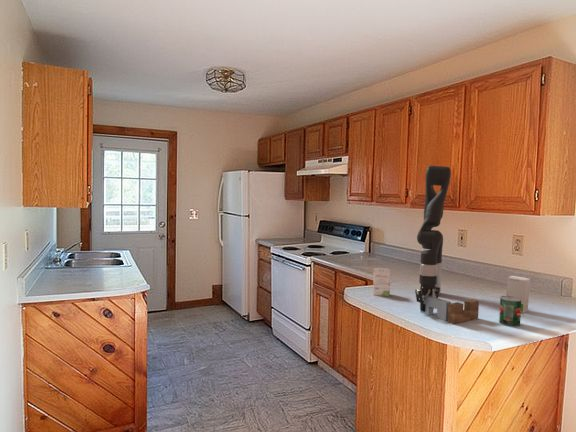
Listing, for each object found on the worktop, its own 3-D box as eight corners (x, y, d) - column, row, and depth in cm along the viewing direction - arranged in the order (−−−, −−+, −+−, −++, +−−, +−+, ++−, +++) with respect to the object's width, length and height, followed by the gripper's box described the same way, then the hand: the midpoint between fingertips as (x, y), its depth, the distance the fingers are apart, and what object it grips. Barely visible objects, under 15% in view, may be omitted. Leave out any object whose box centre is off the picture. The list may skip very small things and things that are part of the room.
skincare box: (504, 309, 191) (506, 277, 190) (509, 306, 195) (511, 275, 194) (524, 313, 185) (526, 280, 184) (529, 310, 189) (530, 278, 188)
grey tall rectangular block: (420, 312, 185) (420, 295, 185) (424, 311, 187) (425, 294, 186) (445, 321, 173) (446, 302, 173) (450, 320, 175) (451, 302, 174)
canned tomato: (523, 327, 166) (524, 301, 165) (502, 326, 167) (503, 300, 167) (515, 321, 174) (517, 296, 173) (496, 320, 175) (497, 295, 174)
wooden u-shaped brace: (447, 322, 172) (448, 303, 171) (472, 316, 179) (472, 299, 179) (453, 324, 169) (454, 305, 168) (478, 318, 177) (478, 300, 176)
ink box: (389, 294, 217) (390, 266, 216) (389, 296, 212) (390, 268, 211) (373, 292, 219) (374, 265, 218) (372, 295, 215) (373, 267, 214)
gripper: (432, 270, 189) (431, 306, 191) (410, 273, 182) (409, 310, 184) (445, 273, 183) (444, 310, 184) (423, 276, 176) (422, 315, 177)
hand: (427, 310), depth 184 cm, fingers open, 5 cm apart
